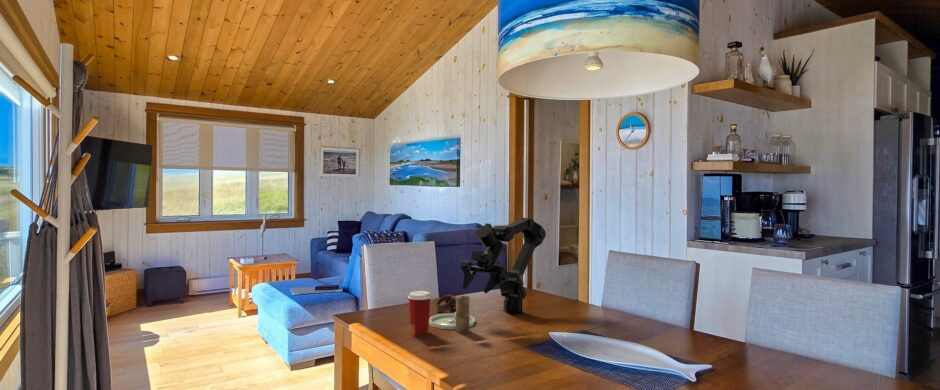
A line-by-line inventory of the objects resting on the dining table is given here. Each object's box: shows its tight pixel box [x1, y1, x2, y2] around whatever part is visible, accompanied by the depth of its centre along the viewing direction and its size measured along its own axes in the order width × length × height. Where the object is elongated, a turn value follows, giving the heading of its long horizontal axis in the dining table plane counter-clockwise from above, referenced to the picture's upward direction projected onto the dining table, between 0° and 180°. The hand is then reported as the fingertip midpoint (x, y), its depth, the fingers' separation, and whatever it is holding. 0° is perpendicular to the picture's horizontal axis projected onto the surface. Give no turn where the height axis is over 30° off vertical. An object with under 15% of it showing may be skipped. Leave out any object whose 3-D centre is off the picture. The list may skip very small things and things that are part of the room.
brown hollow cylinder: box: [435, 294, 456, 313], centre depth 194 cm, size 12×10×8 cm
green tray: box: [429, 312, 476, 330], centre depth 178 cm, size 16×16×2 cm
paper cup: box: [407, 290, 432, 338], centre depth 166 cm, size 8×8×14 cm
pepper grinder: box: [455, 294, 470, 334], centre depth 168 cm, size 4×4×13 cm
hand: (474, 290), depth 174 cm, fingers open, 9 cm apart
